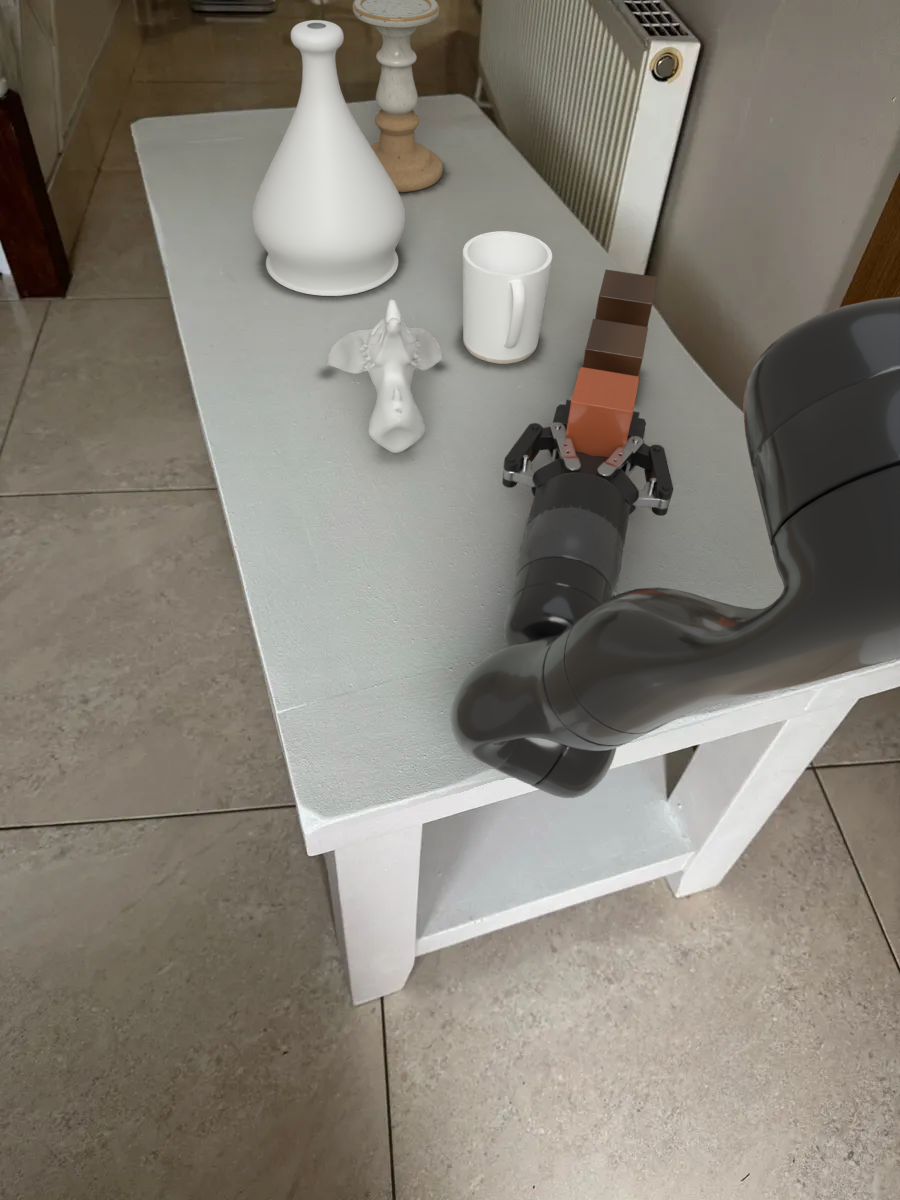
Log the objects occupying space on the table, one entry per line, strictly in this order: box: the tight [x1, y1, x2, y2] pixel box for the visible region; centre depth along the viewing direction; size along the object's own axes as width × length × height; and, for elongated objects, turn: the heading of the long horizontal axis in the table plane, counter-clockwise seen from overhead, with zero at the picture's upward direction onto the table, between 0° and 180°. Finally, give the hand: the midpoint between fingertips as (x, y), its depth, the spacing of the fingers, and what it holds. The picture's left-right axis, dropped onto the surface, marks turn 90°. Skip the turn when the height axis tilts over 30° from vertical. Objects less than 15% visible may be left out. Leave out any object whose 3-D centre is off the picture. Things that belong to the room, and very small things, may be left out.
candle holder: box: [352, 0, 444, 193], centre depth 119 cm, size 12×12×20 cm
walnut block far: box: [594, 269, 658, 328], centre depth 92 cm, size 5×5×11 cm
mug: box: [462, 230, 553, 365], centre depth 96 cm, size 11×9×10 cm
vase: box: [251, 19, 407, 297], centre depth 101 cm, size 17×17×25 cm
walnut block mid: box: [582, 318, 649, 378], centre depth 86 cm, size 5×5×11 cm
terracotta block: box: [566, 366, 640, 457], centre depth 80 cm, size 5×5×11 cm
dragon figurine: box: [326, 298, 444, 454], centre depth 86 cm, size 12×18×13 cm
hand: (601, 414), depth 81 cm, fingers closed on terracotta block, 5 cm apart
